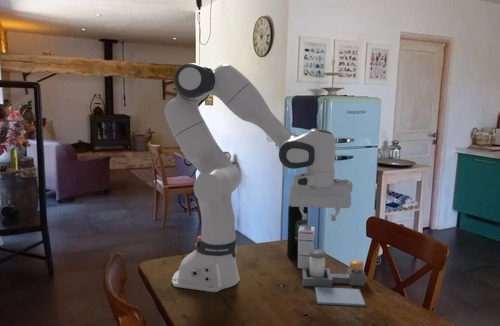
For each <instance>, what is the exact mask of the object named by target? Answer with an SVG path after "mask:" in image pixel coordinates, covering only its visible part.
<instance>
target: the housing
mask: <svg viewBox="0 0 500 326" xmlns="http://www.w3.org/2000/svg"><path fill="white" fill-rule="evenodd" d="M330 269H331V268H329V267H328V268H326V267H325V272H324V278H312V277H309V270H310V268H309V267H302V269H301V278H302V286H303V287H305V286H306V287H324V288H333V284H346V285H347V284H348V285H349V286H363V287H364V286H365V285H366V284H365V283H366V272H365V269H363V270H360V271H359V272H354V270H352V269H350V267H347V272H346V273H331V270H330Z"/></svg>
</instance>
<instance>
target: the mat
mask: <svg viewBox="0 0 500 326" xmlns="http://www.w3.org/2000/svg"><path fill="white" fill-rule="evenodd" d="M314 290H315V297H316V302H317V304H318V305H332V306H333V305H334V306H353V307H354V306H356V307H366V302H365V300H364V298H363V294H362V293H361V289H360V288H343V287H317V286H314Z"/></svg>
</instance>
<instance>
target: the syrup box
mask: <svg viewBox="0 0 500 326" xmlns="http://www.w3.org/2000/svg"><path fill="white" fill-rule="evenodd" d="M315 231H316V227H315V226H311V225H307V226H300V227H299V230H298V259H297V268H298V269H301V270H302V267H309V268H310V255H309V253H310V250H313V249H316V248H315V247H316V246H315V245H316V241H315V239H316V238H315V237H316V235H315V233H316V232H315Z"/></svg>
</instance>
